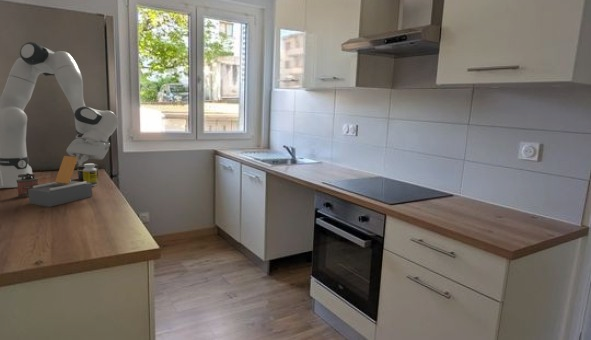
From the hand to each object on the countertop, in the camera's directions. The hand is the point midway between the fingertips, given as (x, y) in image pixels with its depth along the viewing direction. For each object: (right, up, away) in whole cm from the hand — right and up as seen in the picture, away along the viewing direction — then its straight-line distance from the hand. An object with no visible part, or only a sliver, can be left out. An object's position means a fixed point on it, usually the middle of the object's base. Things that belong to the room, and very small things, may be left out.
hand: (77, 163), depth 171 cm
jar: (-17, -8, +40) cm, 45 cm away
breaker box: (-4, -16, -5) cm, 17 cm away
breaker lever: (-3, -9, -6) cm, 12 cm away
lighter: (-22, -14, +1) cm, 27 cm away
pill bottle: (-7, -11, +24) cm, 27 cm away
